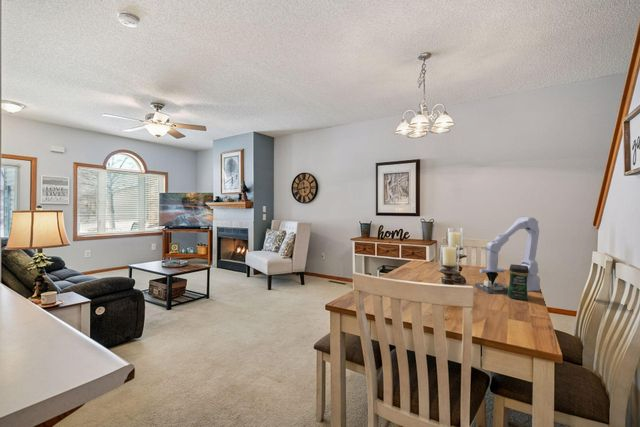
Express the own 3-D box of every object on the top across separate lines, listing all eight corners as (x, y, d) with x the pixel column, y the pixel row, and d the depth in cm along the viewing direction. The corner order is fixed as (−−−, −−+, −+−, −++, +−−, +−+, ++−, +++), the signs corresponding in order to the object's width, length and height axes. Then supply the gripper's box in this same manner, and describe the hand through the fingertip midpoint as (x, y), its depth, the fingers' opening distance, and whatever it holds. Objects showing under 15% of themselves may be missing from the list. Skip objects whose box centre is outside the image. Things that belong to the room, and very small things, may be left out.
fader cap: (487, 284, 205) (487, 279, 205) (491, 286, 201) (491, 281, 201) (483, 285, 205) (483, 280, 204) (487, 286, 201) (487, 281, 200)
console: (499, 285, 211) (499, 280, 211) (513, 292, 197) (514, 287, 197) (474, 286, 210) (475, 281, 209) (488, 293, 196) (488, 287, 195)
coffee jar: (507, 298, 187) (508, 265, 186) (507, 294, 194) (509, 262, 193) (527, 301, 182) (529, 267, 181) (527, 297, 189) (529, 264, 188)
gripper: (499, 260, 207) (498, 282, 208) (477, 260, 205) (476, 282, 206) (507, 263, 200) (506, 285, 201) (483, 263, 198) (482, 286, 199)
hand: (491, 284), depth 203 cm, fingers closed
